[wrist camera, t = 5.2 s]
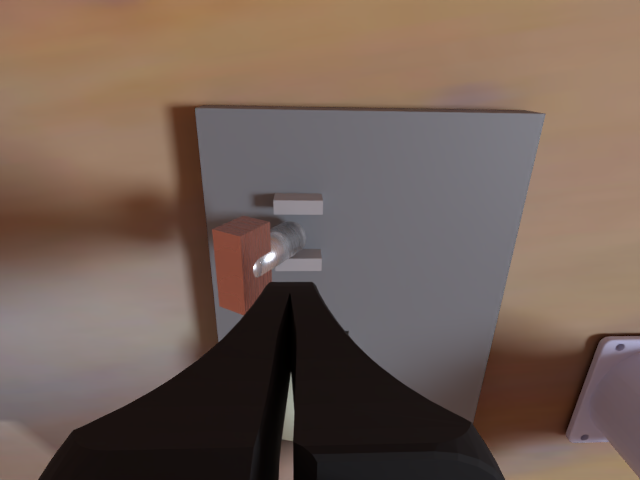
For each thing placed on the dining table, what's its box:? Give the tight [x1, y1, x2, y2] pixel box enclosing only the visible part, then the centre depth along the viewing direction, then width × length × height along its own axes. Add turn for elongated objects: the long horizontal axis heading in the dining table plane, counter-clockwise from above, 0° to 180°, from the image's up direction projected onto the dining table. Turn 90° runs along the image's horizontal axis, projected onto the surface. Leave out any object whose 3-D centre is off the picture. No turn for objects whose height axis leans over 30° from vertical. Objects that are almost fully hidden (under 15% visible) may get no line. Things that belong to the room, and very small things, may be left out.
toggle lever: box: [212, 216, 306, 315], centre depth 15 cm, size 1×3×4 cm
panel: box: [195, 105, 545, 424], centre depth 20 cm, size 14×24×2 cm, turn 179°
